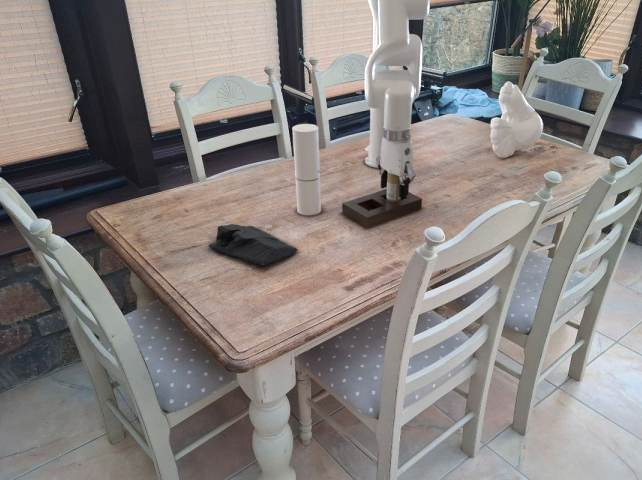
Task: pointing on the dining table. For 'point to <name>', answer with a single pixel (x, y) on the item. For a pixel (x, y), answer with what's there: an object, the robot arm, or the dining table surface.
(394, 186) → the sprinkles bottle
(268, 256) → the folded black cloth
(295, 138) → the cylindrical container
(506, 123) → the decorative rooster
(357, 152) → the dining table surface
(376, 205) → the peg block
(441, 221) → the dining table surface
